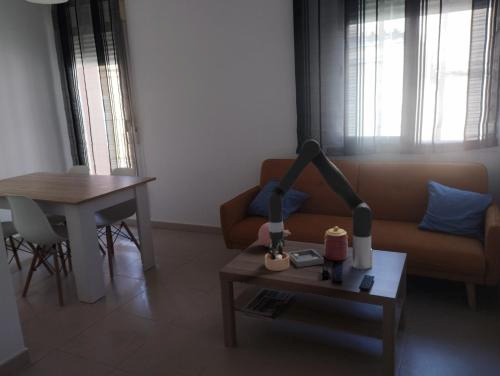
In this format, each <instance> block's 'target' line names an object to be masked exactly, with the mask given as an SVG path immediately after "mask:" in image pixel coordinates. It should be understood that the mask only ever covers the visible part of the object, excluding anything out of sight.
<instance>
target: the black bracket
mask: <svg viewBox="0 0 500 376" xmlns="http://www.w3.org/2000/svg"><path fill="white" fill-rule="evenodd" d="M317 273H318V277H319V280H320V281H322V282H323V281H332V280H331V279H332V276H331V274H330V272H329V268H328V267H321V272H317Z"/></svg>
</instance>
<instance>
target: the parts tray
mask: <svg viewBox="0 0 500 376" xmlns="http://www.w3.org/2000/svg"><path fill="white" fill-rule="evenodd" d="M287 254H288V255H289V261H291V263H293V264H294V265H295V267H297V268H301V267H309V266H316V265H323V264H325V258H324V257H323V256H322V255H320V253H318V252H317V251H316V250H315V249H313V248H310V249H304V250H297V251H296V250H295V251H288V252H287ZM293 254H298V258H297V259H296V258H295V257H294V256H293ZM313 257H318V258H317V259H313Z"/></svg>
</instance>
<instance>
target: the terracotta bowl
mask: <svg viewBox="0 0 500 376" xmlns="http://www.w3.org/2000/svg"><path fill="white" fill-rule="evenodd" d="M276 254H278V251H276ZM264 266H265V268H266V269H267V270H269V271H274V272H275V271H276V272H277V271H278V272H279V271H284V270H285V271H286V270H287V269H289V268H290V259H289V255H288V252H284V251H283V256H282V259H280V260H272V259H271V255H269V252H268V253H266V254H265V255H264Z"/></svg>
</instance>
